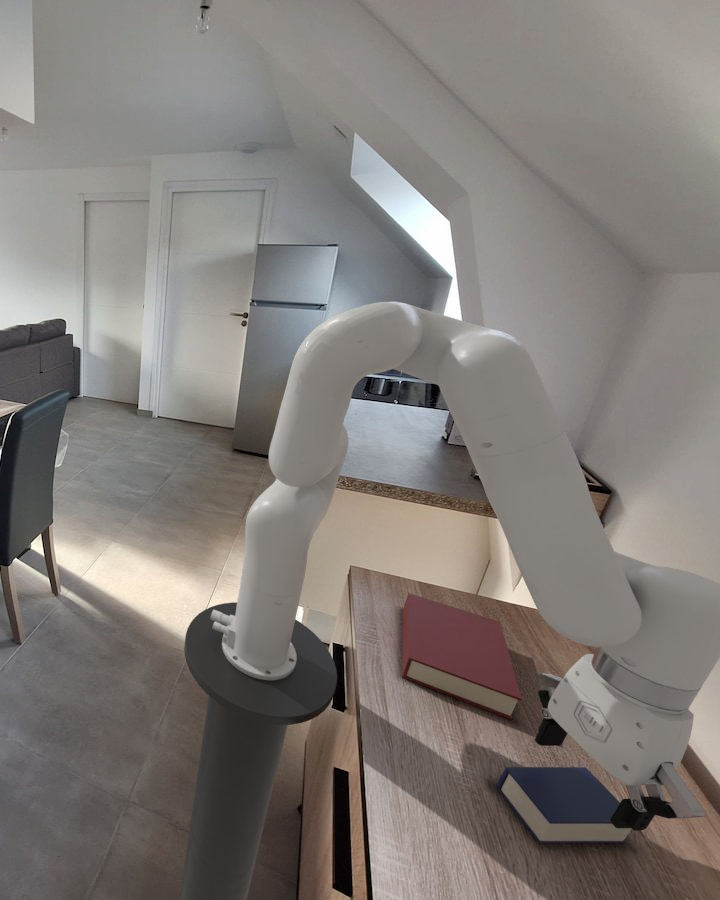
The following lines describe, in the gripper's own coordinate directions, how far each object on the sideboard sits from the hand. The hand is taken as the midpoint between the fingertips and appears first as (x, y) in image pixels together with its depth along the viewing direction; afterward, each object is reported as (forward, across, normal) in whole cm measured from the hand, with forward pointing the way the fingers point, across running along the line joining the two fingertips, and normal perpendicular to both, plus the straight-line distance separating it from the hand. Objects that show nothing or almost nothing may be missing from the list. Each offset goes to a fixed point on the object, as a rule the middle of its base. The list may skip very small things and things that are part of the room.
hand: (583, 780), depth 56 cm
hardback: (+6, -26, +4) cm, 27 cm away
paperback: (+7, 0, 0) cm, 7 cm away
